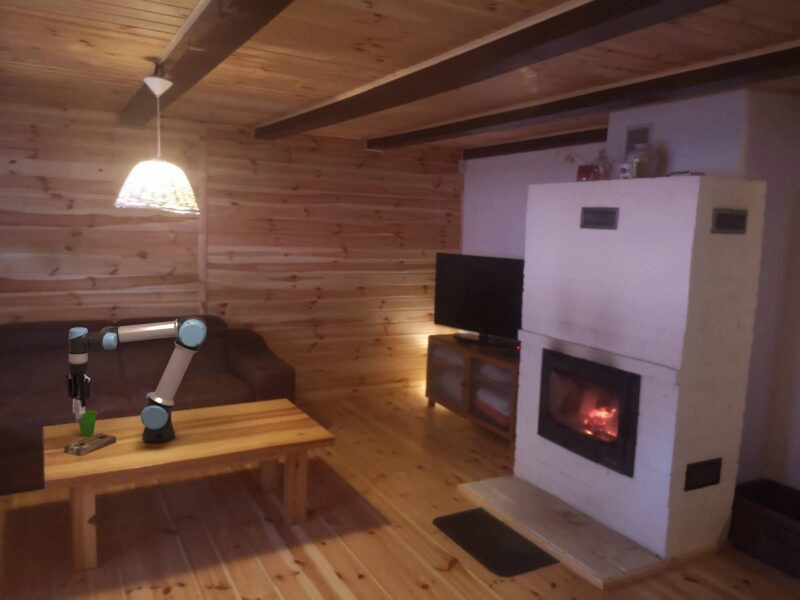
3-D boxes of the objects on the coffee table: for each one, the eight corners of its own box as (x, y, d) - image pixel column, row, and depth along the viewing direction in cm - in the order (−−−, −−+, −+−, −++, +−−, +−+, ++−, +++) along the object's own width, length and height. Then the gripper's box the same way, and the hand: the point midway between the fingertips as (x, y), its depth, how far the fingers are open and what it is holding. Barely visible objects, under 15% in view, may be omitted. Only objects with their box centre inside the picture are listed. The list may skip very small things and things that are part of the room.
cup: (89, 439, 303) (88, 417, 302) (72, 437, 305) (72, 415, 303) (101, 433, 312) (101, 412, 310) (85, 431, 314) (85, 410, 312)
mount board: (116, 442, 301) (116, 436, 300) (80, 456, 282) (80, 449, 282) (100, 439, 304) (100, 432, 304) (64, 452, 286) (64, 445, 285)
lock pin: (84, 421, 287) (84, 395, 285) (78, 422, 284) (78, 396, 283) (79, 419, 288) (79, 394, 286) (73, 421, 285) (73, 395, 284)
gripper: (98, 362, 283) (99, 413, 286) (72, 358, 289) (73, 408, 292) (84, 366, 276) (85, 417, 279) (58, 361, 282) (58, 412, 285)
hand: (79, 412), depth 285 cm, fingers closed on lock pin, 3 cm apart
